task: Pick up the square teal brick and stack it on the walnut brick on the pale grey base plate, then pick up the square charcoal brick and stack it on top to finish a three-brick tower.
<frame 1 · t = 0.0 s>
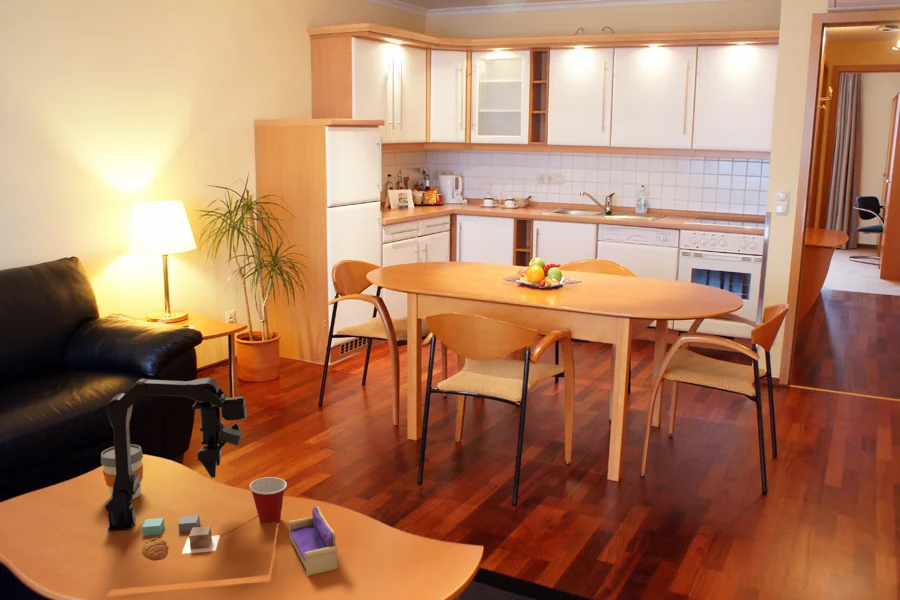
hand: (215, 471, 248), 15 cm above the table, tool pointing down, fingers open, 9 cm apart
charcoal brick: (190, 532, 242), on the table
plastic cup: (271, 522, 247), on the table
toy sofa: (313, 557, 226), on the table
reusable coffee cup: (126, 495, 268), on the table
base plate: (201, 548, 232), on the table
pastry: (156, 556, 229), on the table
walnut brick: (201, 544, 232), point 1 cm above the table, touching base plate
teal brick: (154, 535, 241), on the table
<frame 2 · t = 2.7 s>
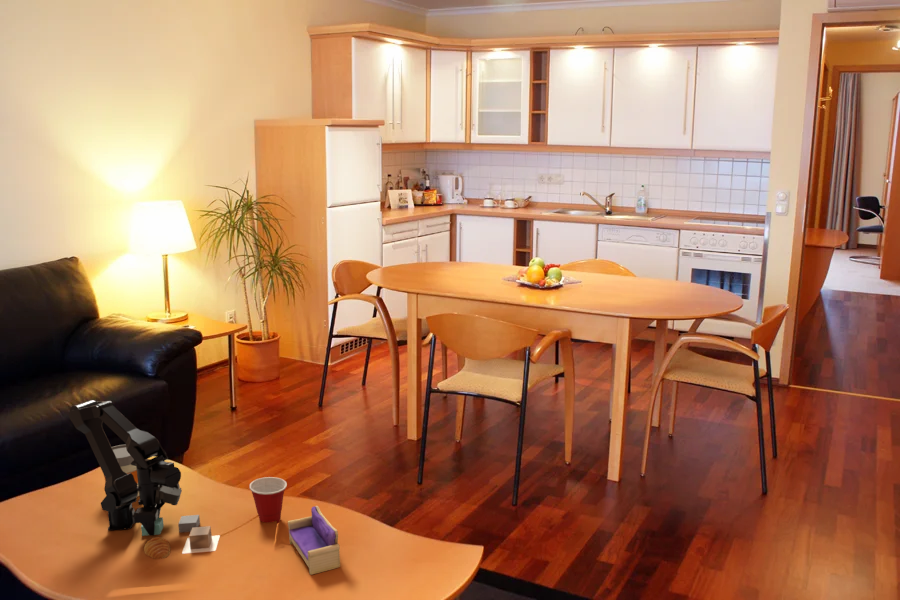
hand: (154, 531, 241), 1 cm above the table, tool pointing down, fingers closed on teal brick, 5 cm apart
teal brick: (153, 534, 241), on the table, touching gripper
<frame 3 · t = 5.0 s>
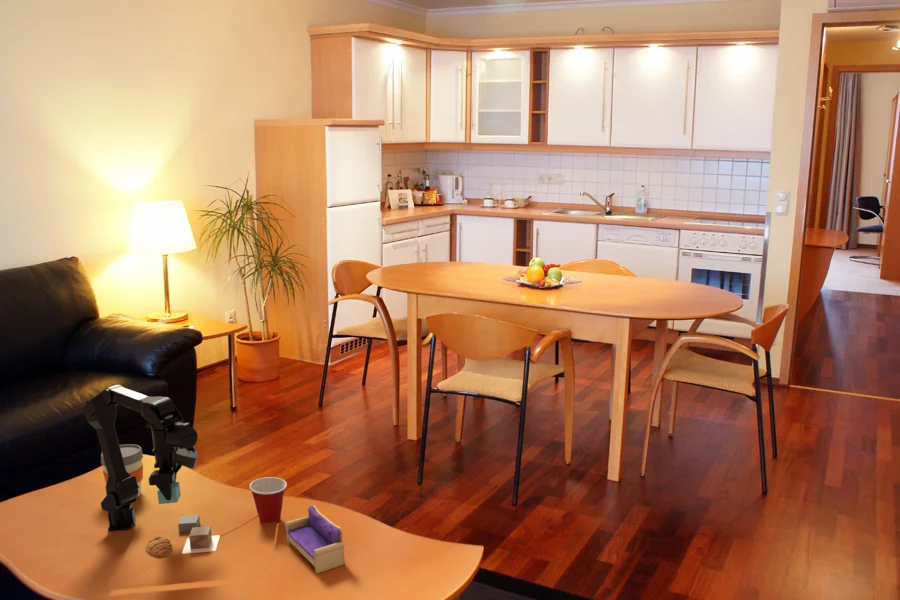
hand: (170, 496, 234), 14 cm above the table, tool pointing down, fingers closed on teal brick, 5 cm apart
teal brick: (169, 499, 234), point 13 cm above the table, touching gripper
when the fingers open (7 cm above the table, at t = 7.1 s): teal brick stays where it is, resting on walnut brick.
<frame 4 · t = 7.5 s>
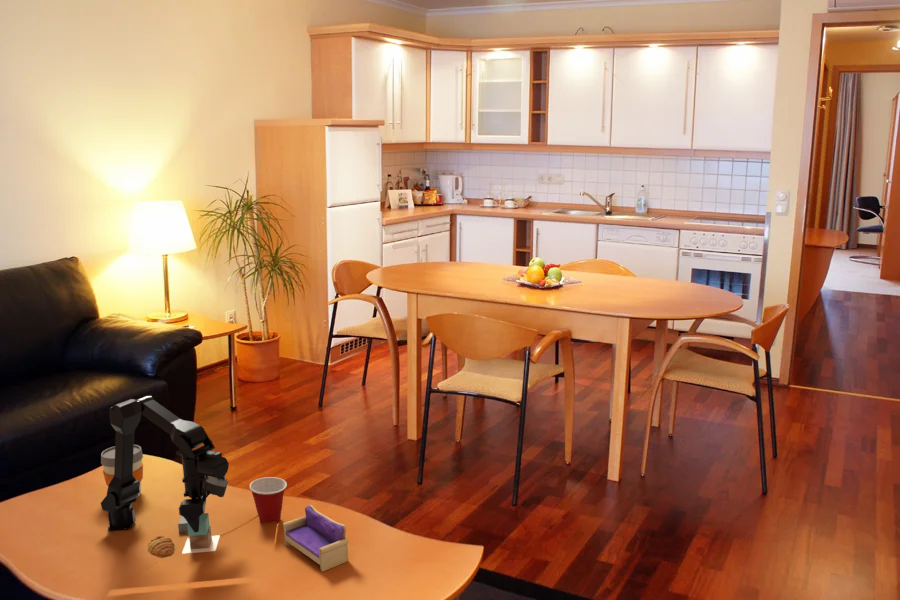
hand: (199, 524, 231), 7 cm above the table, tool pointing down, fingers open, 9 cm apart
walnut brick: (201, 544, 232), point 1 cm above the table, touching base plate, teal brick
teal brick: (199, 531, 231), point 5 cm above the table, touching walnut brick
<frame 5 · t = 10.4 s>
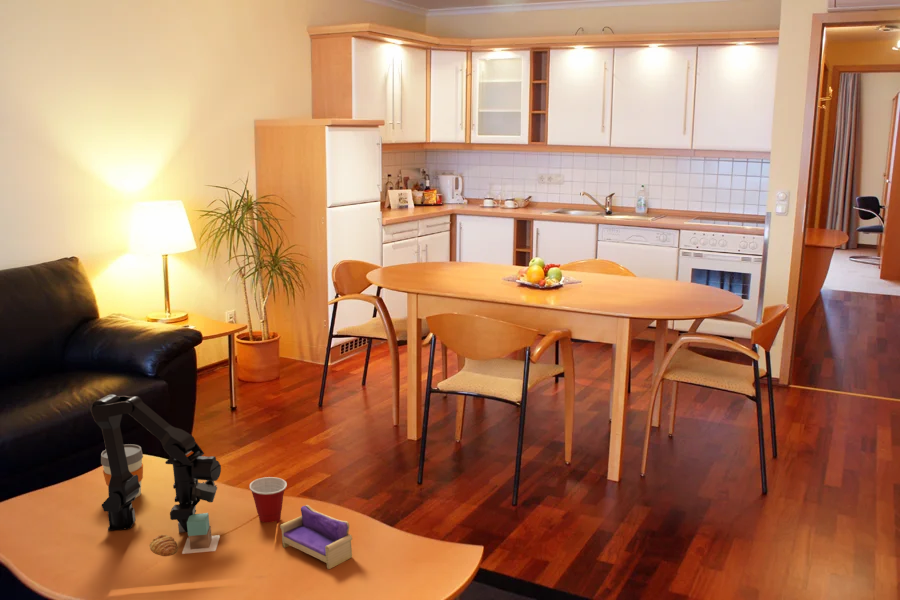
hand: (189, 528, 242), 1 cm above the table, tool pointing down, fingers closed on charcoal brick, 5 cm apart
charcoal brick: (190, 531, 242), on the table, touching gripper
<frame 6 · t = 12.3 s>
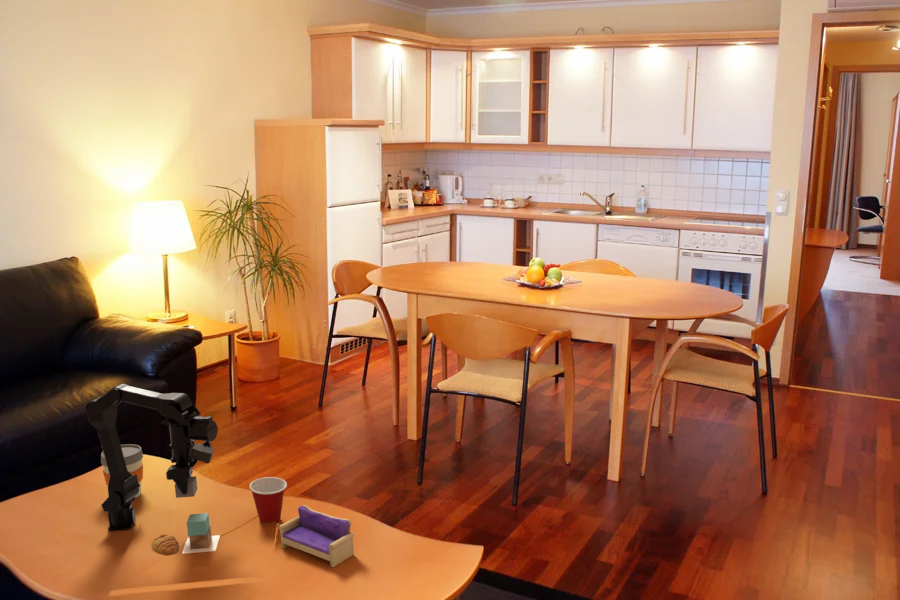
hand: (186, 490, 239), 13 cm above the table, tool pointing down, fingers closed on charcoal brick, 5 cm apart
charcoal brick: (186, 493, 239), point 12 cm above the table, touching gripper
when the fingers open (11 cm above the table, at t = 13.8 s): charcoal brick stays where it is, resting on teal brick.
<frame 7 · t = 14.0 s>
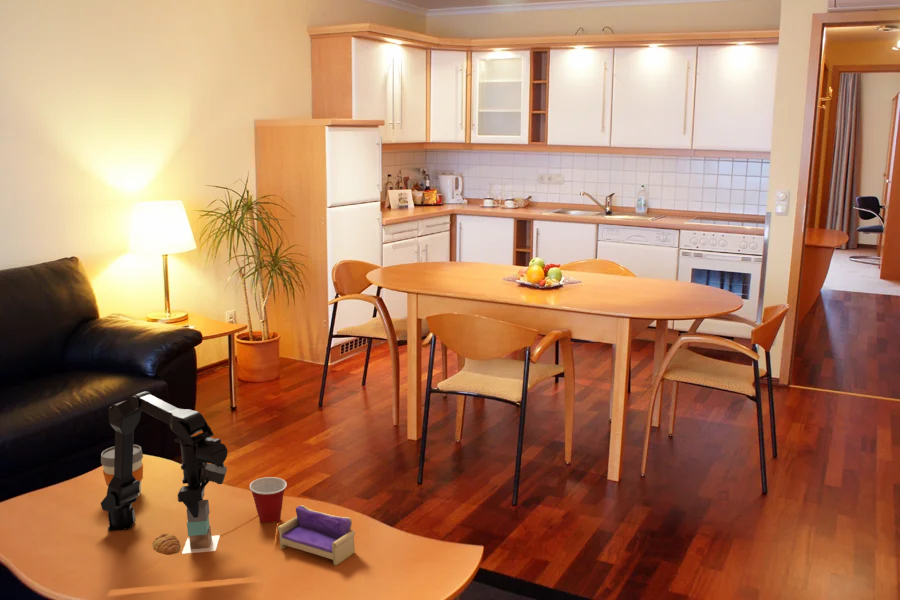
hand: (198, 511, 230), 11 cm above the table, tool pointing down, fingers open, 7 cm apart
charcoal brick: (198, 517, 230), point 9 cm above the table, touching teal brick
teal brick: (199, 531, 231), point 5 cm above the table, touching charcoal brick, walnut brick
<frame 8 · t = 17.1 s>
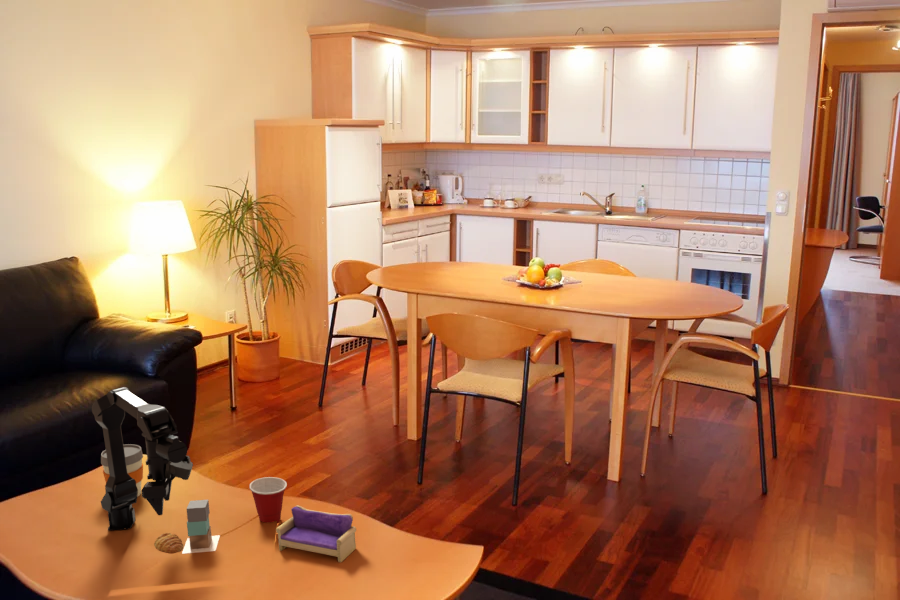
hand: (163, 507, 228), 13 cm above the table, tool pointing down, fingers open, 9 cm apart
at the end: teal brick 0.3 cm off-centre on the walnut brick, point 4.0 cm above the walnut brick's base; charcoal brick 0.0 cm off-centre on the walnut brick, point 8.0 cm above the walnut brick's base; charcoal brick tilted 0° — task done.
